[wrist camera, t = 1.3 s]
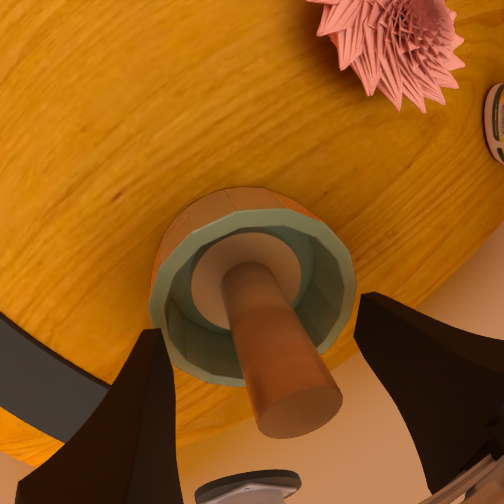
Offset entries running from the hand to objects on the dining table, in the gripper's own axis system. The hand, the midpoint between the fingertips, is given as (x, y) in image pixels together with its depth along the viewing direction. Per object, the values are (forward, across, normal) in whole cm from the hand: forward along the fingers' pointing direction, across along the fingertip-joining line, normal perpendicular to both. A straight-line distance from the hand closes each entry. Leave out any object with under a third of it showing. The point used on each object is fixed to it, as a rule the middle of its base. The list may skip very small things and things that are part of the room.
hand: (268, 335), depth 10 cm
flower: (+5, -6, -11) cm, 14 cm away
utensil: (+4, 0, 0) cm, 4 cm away
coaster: (+5, +15, +7) cm, 17 cm away
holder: (+5, 0, 0) cm, 5 cm away
